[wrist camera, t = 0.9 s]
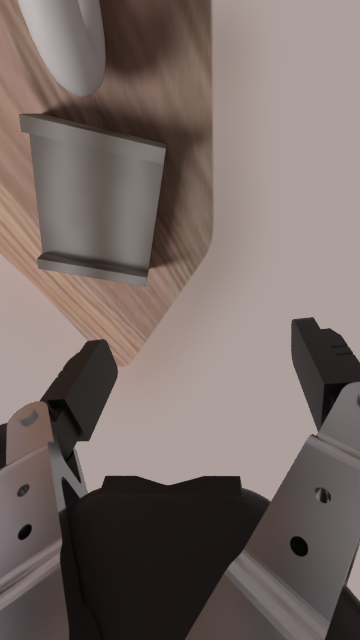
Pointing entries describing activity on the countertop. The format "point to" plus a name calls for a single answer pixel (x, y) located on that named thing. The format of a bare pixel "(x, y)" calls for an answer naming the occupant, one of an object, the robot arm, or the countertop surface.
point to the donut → (69, 41)
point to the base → (94, 198)
